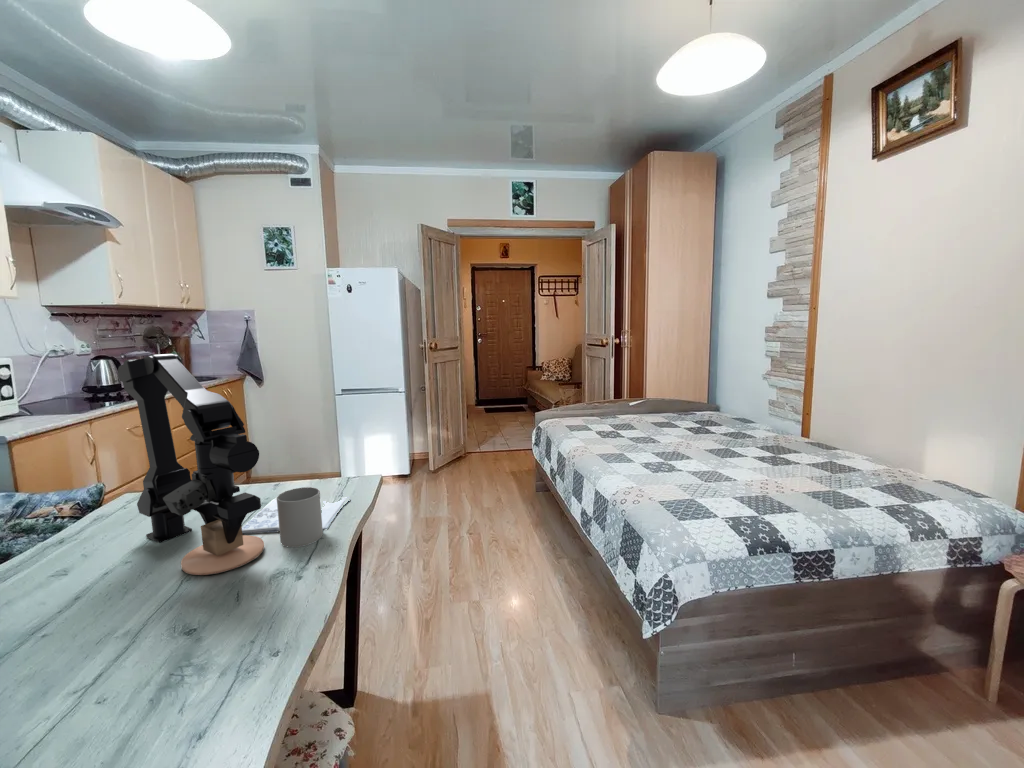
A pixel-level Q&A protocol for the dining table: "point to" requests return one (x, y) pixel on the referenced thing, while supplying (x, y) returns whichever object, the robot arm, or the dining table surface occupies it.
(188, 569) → the salmon pink disc
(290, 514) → the cup
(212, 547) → the walnut block
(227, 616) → the dining table surface
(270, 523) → the patterned cloth
